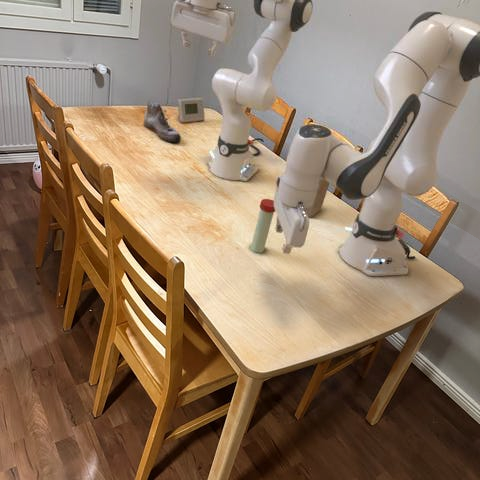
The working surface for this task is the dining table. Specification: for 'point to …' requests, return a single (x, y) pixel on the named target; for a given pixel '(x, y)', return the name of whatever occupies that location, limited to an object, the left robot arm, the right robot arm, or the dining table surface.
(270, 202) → the lid
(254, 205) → the dining table surface
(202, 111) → the digital clock
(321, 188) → the wooden block
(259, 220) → the green cylinder
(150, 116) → the shoe
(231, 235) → the dining table surface
